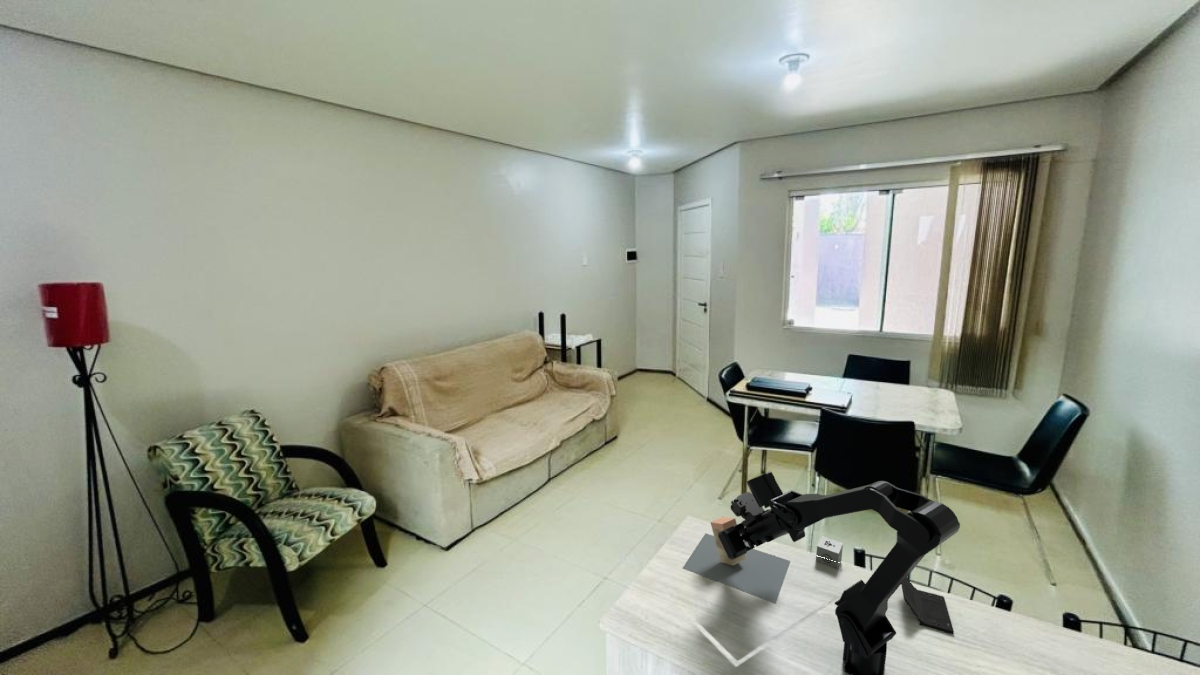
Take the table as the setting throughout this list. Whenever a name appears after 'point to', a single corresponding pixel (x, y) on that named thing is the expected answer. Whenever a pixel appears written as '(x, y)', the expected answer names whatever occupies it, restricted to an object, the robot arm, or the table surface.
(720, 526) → the beech block
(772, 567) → the slate mat
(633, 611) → the table surface
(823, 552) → the grey printed cube
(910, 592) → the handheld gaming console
